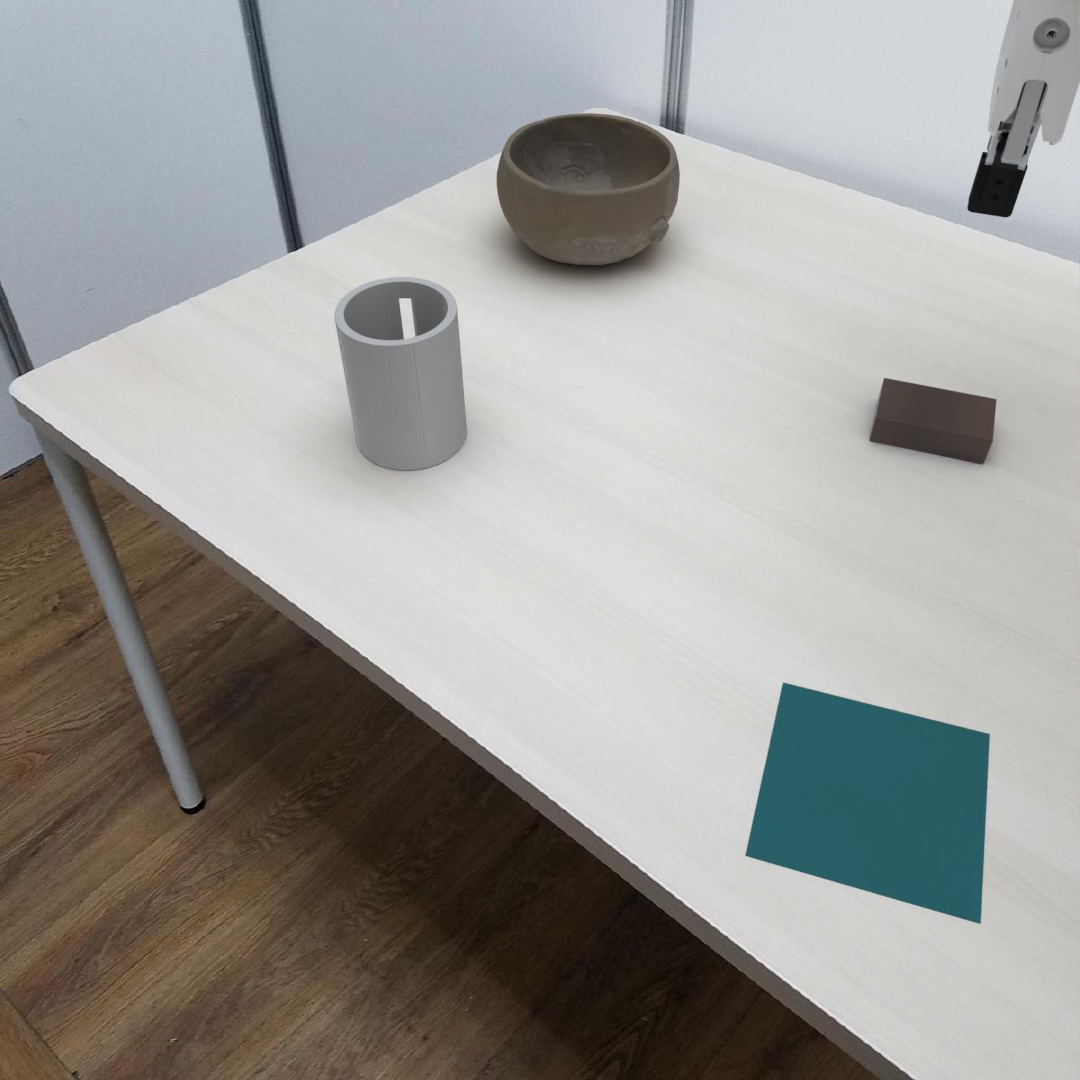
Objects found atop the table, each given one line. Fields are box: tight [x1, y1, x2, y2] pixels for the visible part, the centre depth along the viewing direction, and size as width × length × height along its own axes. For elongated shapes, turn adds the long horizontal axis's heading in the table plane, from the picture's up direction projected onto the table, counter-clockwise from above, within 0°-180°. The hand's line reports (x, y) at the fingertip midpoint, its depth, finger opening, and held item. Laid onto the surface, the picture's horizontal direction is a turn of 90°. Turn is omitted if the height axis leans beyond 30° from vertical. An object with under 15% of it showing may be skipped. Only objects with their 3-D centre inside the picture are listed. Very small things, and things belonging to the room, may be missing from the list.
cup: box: [333, 276, 468, 471], centre depth 84 cm, size 9×9×12 cm
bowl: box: [496, 112, 681, 266], centre depth 106 cm, size 17×18×10 cm
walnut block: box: [868, 377, 998, 465], centre depth 87 cm, size 9×6×2 cm, turn 70°
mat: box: [745, 682, 991, 924], centre depth 64 cm, size 13×13×1 cm
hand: (988, 209), depth 81 cm, fingers closed
